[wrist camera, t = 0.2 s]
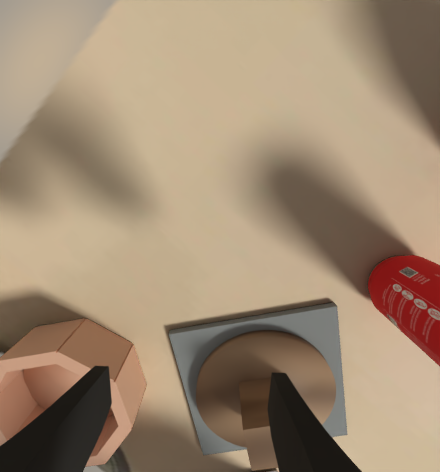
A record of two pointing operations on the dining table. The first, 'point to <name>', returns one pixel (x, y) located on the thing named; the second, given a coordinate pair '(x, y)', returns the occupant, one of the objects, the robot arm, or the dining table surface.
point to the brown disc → (259, 388)
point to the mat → (291, 321)
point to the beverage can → (410, 299)
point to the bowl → (69, 378)
